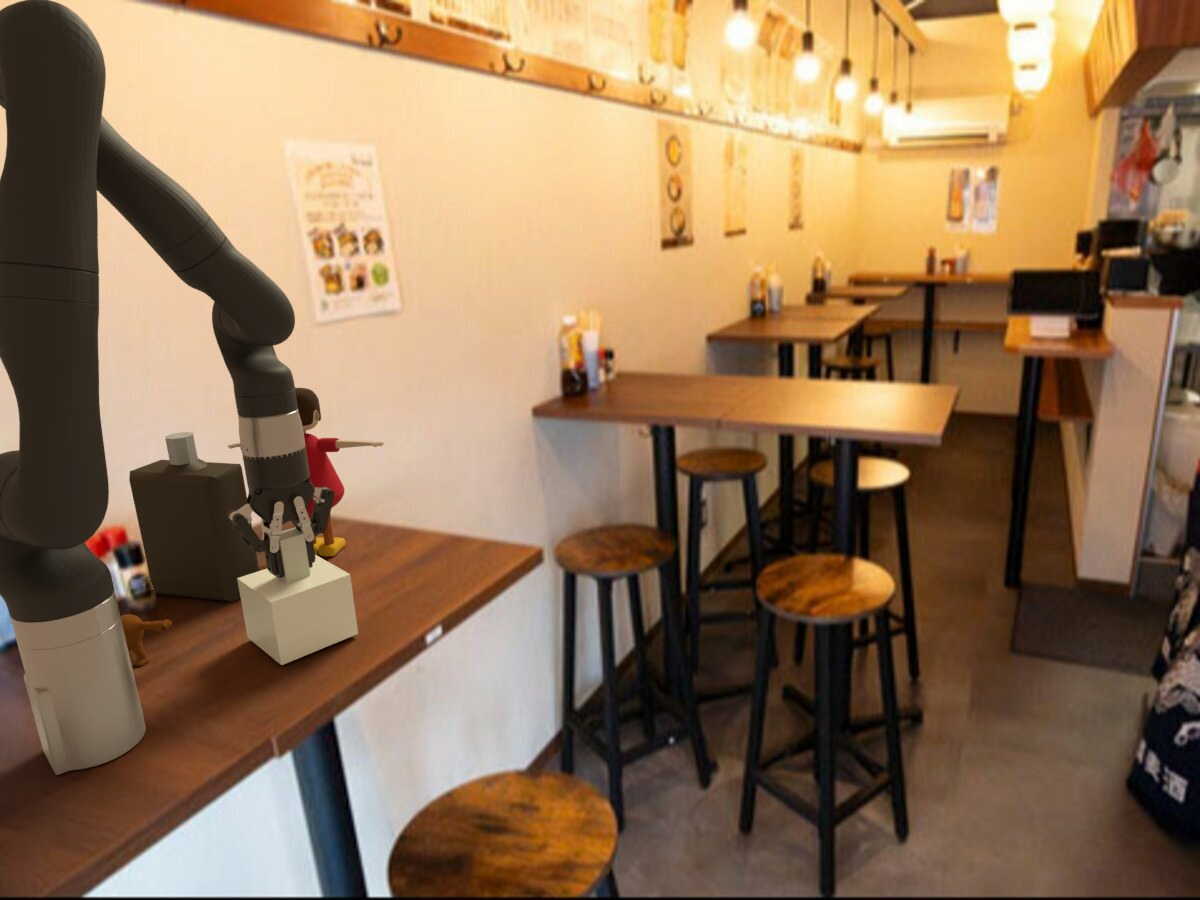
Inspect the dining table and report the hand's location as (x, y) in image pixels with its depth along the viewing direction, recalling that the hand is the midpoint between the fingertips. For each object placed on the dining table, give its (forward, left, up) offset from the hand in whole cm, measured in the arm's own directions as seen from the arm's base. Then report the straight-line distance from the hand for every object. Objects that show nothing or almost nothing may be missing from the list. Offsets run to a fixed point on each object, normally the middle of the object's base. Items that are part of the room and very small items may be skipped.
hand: (293, 570), depth 106 cm
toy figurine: (-18, +11, -10) cm, 23 cm away
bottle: (-3, +27, -10) cm, 29 cm away
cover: (0, 0, -10) cm, 10 cm away
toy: (+15, +26, -10) cm, 32 cm away
